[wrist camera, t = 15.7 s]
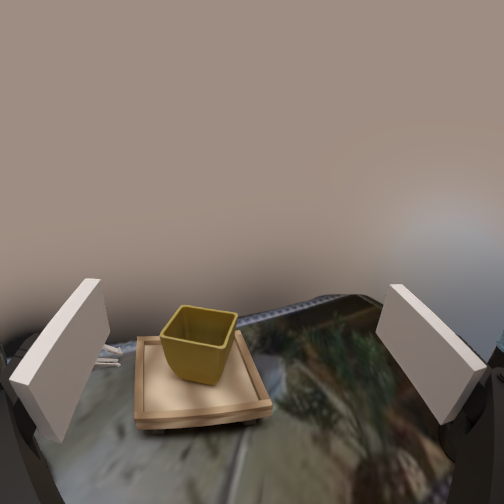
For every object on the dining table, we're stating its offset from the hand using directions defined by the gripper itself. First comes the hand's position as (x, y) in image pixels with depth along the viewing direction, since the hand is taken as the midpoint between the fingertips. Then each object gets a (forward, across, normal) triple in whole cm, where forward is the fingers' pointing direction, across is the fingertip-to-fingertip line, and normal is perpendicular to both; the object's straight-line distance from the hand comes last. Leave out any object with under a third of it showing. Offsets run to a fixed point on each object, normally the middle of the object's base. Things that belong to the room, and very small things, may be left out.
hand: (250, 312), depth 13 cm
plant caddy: (+22, -4, -30) cm, 38 cm away
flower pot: (+23, -4, -25) cm, 34 cm away
